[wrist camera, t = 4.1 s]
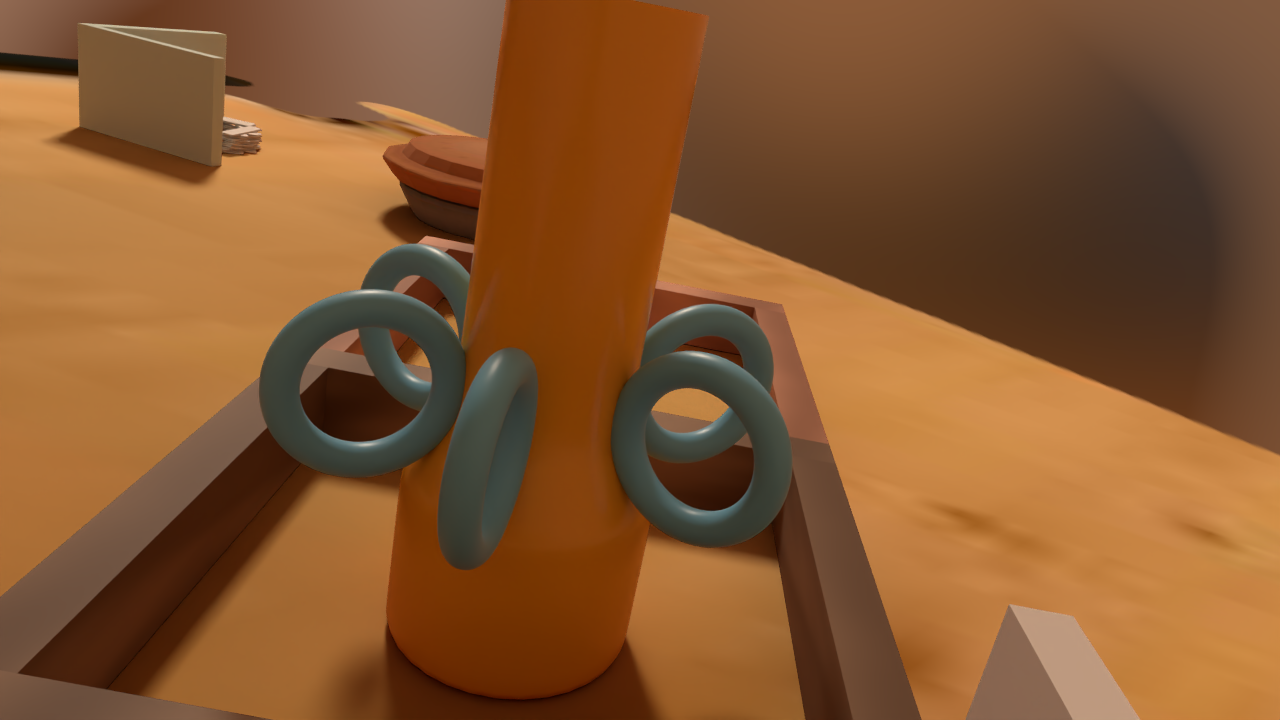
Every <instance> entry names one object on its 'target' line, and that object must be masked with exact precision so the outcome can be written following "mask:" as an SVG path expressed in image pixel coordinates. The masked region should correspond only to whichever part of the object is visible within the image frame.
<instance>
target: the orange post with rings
mask: <svg viewBox="0 0 1280 720" xmlns="http://www.w3.org/2000/svg"><path fill="white" fill-rule="evenodd" d="M708 20H709V16H706V15H702V14H697V13H693V12H688V11H683V10H678V9H673V8H668V7H663V6H658V5H653V4H648V3H643V2H638V1H633V0H506V3H505V11H504V19H503V27H502V34H501V42H500V50H499V59H498V66H497V73H496V81H495V89H494V97H493V104H492V112H491V120H490V128H489V136H488V143H487V151H486V158H485V166H484V174H483V181H482V189H481V197H480V204H479V212H478V220H477V227H476V235H475V242H474V250H473V258H472V265H471V273H470V275H469V273H468V272H467V271H466V270H465V269H464V267H463V266H462V265H461V264H460V263H459V262H457V261H456V260H455V259H454V258H453V257H451V256H450V255H448V254H447V253H445V252H443V251H441V250H439V249H437V248H435V247H432V246H428V245H424V244H405V245H401V246H398V247H395V248H393V249H391V250H389V251H387V252H386V253H384V254H383V255H382V256H380V257H379V258H378V259H377V260H376V261H375V262H374V264H373V265H372V266H371V268H370V269H369V271H368V273H367V274H366V276H365V278H364V281H363V283H362V286H361V290H354V291H348V292H344V293H340V294H336V295H333V296H330V297H328V298H325V299H323V300H321V301H319V302H317V303H315V304H313V305H311V306H309V307H308V308H306V309H305V310H303V311H302V312H300V313H299V314H298V315H297V316H295V317H294V318H293V319H292V320H291V321H290V322H289V323H288V324H287V325H286V326H285V327H284V328H283V329H282V330H281V332H280V333H279V334H278V335H277V337H276V338H275V340H274V341H273V343H272V345H271V346H270V348H269V350H268V352H267V354H266V357H265V359H264V362H263V365H262V369H261V373H260V380H259V400H260V407H261V411H262V415H263V418H264V420H265V423H266V425H267V427H268V429H269V431H270V433H271V434H272V436H273V437H274V439H275V440H276V441H277V443H278V444H279V445H280V446H281V447H282V448H283V449H284V450H285V451H286V452H287V453H288V454H289V455H290V456H292V457H293V458H294V459H296V460H297V461H299V462H300V463H302V464H304V465H306V466H307V467H309V468H312V469H314V470H316V471H319V472H322V473H325V474H329V475H334V476H339V477H349V478H363V477H373V476H379V475H383V474H387V473H391V472H394V471H397V470H399V469H402V468H403V470H402V475H401V480H400V487H399V496H398V504H397V513H396V522H395V531H394V540H393V549H392V558H391V567H390V576H389V585H388V595H387V607H386V615H387V621H388V625H389V629H390V632H391V635H392V637H393V638H394V640H395V642H396V644H397V646H398V648H399V649H400V650H401V652H402V653H403V654H404V655H405V656H406V657H407V659H408V660H409V661H410V662H411V663H412V664H414V665H415V666H416V667H418V668H419V669H420V670H422V671H423V672H424V673H425V674H427V675H428V676H430V677H432V678H434V679H437V680H438V681H440V682H442V683H444V684H446V685H448V686H451V687H453V688H457V689H460V690H463V691H465V692H468V693H471V694H476V695H483V696H487V697H492V698H500V699H519V700H523V699H533V698H546V697H551V696H554V695H558V694H563V693H567V692H570V691H572V690H575V689H577V688H579V687H582V686H584V685H586V684H588V683H590V682H591V681H593V680H594V679H595V678H597V677H598V676H600V675H601V674H603V673H604V672H605V670H606V669H607V668H608V667H609V666H610V665H611V664H612V663H613V661H614V660H615V659H616V657H617V656H618V654H619V652H620V651H621V648H622V646H623V644H624V641H625V637H626V633H627V628H628V624H629V620H630V615H631V610H632V606H633V601H634V597H635V592H636V587H637V583H638V578H639V574H640V569H641V564H642V560H643V555H644V551H645V546H646V541H647V537H648V532H649V527H650V523H651V524H653V525H654V526H655V527H656V528H658V529H659V530H661V531H662V532H664V533H665V534H667V535H669V536H670V537H672V538H674V539H677V540H679V541H681V542H684V543H687V544H690V545H694V546H699V547H707V548H720V547H728V546H733V545H736V544H739V543H742V542H745V541H747V540H749V539H751V538H753V537H754V536H756V535H757V534H759V533H760V532H761V531H763V530H764V529H765V528H766V527H767V526H768V525H769V524H770V523H771V522H772V521H773V520H774V518H775V517H776V516H777V514H778V513H779V511H780V509H781V508H782V506H783V504H784V502H785V499H786V497H787V494H788V491H789V488H790V483H791V478H792V468H793V457H792V447H791V441H790V437H789V433H788V430H787V427H786V424H785V421H784V419H783V417H782V414H781V412H780V410H779V408H778V407H777V405H776V403H775V402H774V400H773V399H772V397H771V396H770V392H771V388H772V383H773V376H774V361H773V354H772V350H771V347H770V344H769V341H768V339H767V337H766V335H765V333H764V332H763V330H762V329H761V328H760V326H759V325H758V324H757V323H756V322H755V321H754V320H753V319H752V318H751V317H749V316H748V315H746V314H745V313H743V312H741V311H739V310H737V309H735V308H732V307H729V306H725V305H719V304H701V305H695V306H690V307H687V308H684V309H681V310H678V311H676V312H674V313H672V314H670V315H668V316H666V317H665V318H663V319H662V320H660V321H659V322H657V323H656V324H655V325H654V326H652V327H651V328H650V329H649V330H648V331H647V328H648V323H649V317H650V312H651V307H652V302H653V297H654V292H655V287H656V282H657V277H658V271H659V266H660V261H661V256H662V251H663V246H664V241H665V236H666V231H667V226H668V221H669V216H670V210H671V205H672V201H673V195H674V190H675V185H676V180H677V175H678V170H679V165H680V160H681V155H682V150H683V144H684V140H685V135H686V130H687V125H688V120H689V114H690V110H691V105H692V99H693V95H694V90H695V85H696V80H697V75H698V70H699V65H700V60H701V55H702V50H703V45H704V40H705V34H706V29H707V24H708ZM412 275H417V276H421V277H424V278H426V279H428V280H430V281H431V282H432V283H434V284H435V285H436V286H437V287H438V288H439V289H440V290H441V291H442V293H443V294H444V295H445V297H446V298H447V300H448V302H449V304H450V306H451V308H452V310H453V313H454V315H455V318H456V322H457V327H458V333H459V338H458V337H457V335H456V333H455V332H454V330H453V329H452V327H451V326H450V325H449V324H448V322H447V321H446V320H445V319H444V318H443V317H442V316H441V315H440V314H439V313H437V312H436V311H435V310H434V309H432V308H431V307H429V306H428V305H426V304H425V303H423V302H421V301H419V300H417V299H415V298H413V297H410V296H407V295H405V294H401V293H397V292H393V291H394V289H395V287H396V286H397V284H398V283H399V282H400V281H401V280H402V279H404V278H405V277H408V276H412ZM354 329H358V332H359V338H360V342H361V346H362V349H363V352H364V355H365V358H366V360H367V362H368V364H369V366H370V368H371V370H372V372H373V374H374V375H375V377H376V378H377V380H378V381H379V382H380V384H381V385H382V386H383V387H384V389H385V390H386V391H387V392H388V393H389V394H390V395H391V396H393V397H394V398H395V399H396V400H398V401H399V402H401V403H402V404H404V405H406V406H407V407H410V408H412V409H414V410H417V411H420V413H419V414H418V415H417V416H416V417H415V418H414V419H413V420H412V421H411V422H410V423H409V424H408V425H407V426H405V427H404V428H402V429H401V430H399V431H398V432H396V433H394V434H392V435H389V436H387V437H384V438H381V439H378V440H373V441H366V442H351V441H344V440H340V439H337V438H334V437H331V436H329V435H327V434H325V433H324V432H322V431H321V430H319V429H318V428H317V427H316V426H315V425H314V424H313V423H312V422H311V421H310V420H309V418H308V417H307V415H306V414H305V412H304V410H303V407H302V404H301V400H300V382H301V377H302V374H303V371H304V369H305V367H306V365H307V363H308V362H309V360H310V359H311V357H312V356H313V355H314V353H315V352H316V351H317V350H318V349H319V348H320V347H321V346H323V345H324V344H325V343H326V342H328V341H329V340H331V339H332V338H334V337H336V336H338V335H340V334H342V333H345V332H348V331H351V330H354ZM389 329H391V330H394V331H397V332H400V333H402V334H404V335H406V336H408V337H409V338H411V339H412V340H413V341H415V342H416V343H417V344H418V345H419V346H420V347H421V349H422V350H423V351H424V353H425V354H426V356H427V358H428V361H429V363H430V367H431V373H432V382H427V381H424V380H422V379H420V378H418V377H416V376H415V375H414V374H413V373H411V372H410V371H409V370H408V369H407V367H406V366H405V365H404V364H403V362H402V361H401V359H400V358H399V356H398V354H397V352H396V350H395V348H394V345H393V342H392V339H391V335H390V331H389ZM704 336H718V337H722V338H725V339H727V340H729V341H730V342H732V343H733V344H734V345H735V346H736V348H737V349H738V350H739V352H740V355H741V357H742V361H743V368H741V367H740V366H738V365H737V364H735V363H733V362H731V361H729V360H727V359H725V358H722V357H720V356H717V355H714V354H710V353H705V352H699V351H680V352H673V351H674V350H676V349H677V348H678V347H680V346H681V345H683V344H684V343H686V342H688V341H690V340H693V339H696V338H699V337H704ZM672 352H673V353H672ZM681 388H694V389H699V390H703V391H706V392H708V393H711V394H713V395H714V396H716V397H718V398H719V399H721V400H722V401H723V402H725V403H726V404H727V405H728V406H729V408H728V409H727V411H726V412H725V413H724V414H723V415H722V416H721V417H720V418H718V419H717V420H716V421H714V422H713V423H712V424H710V425H708V426H706V427H704V428H702V429H700V430H697V431H693V432H688V433H676V432H671V431H668V430H666V429H664V428H663V427H661V426H660V425H659V424H658V423H657V422H656V421H655V419H654V417H653V415H652V413H651V410H652V408H653V406H654V405H655V403H656V402H657V401H658V400H659V399H660V398H661V397H662V396H664V395H665V394H667V393H669V392H671V391H673V390H676V389H681ZM746 433H748V435H749V438H750V441H751V444H752V449H753V455H754V471H753V476H752V480H751V483H750V486H749V488H748V490H747V491H746V493H745V495H744V496H743V497H742V498H741V499H740V500H739V501H738V502H737V503H736V504H734V505H732V506H731V507H729V508H726V509H723V510H718V511H705V510H700V509H696V508H693V507H691V506H688V505H686V504H684V503H683V502H681V501H680V500H678V499H677V498H675V497H674V496H673V495H672V494H671V493H670V492H669V491H668V490H667V489H666V488H665V487H664V486H663V485H662V483H661V482H660V481H659V479H658V478H657V476H656V474H655V472H654V471H653V469H652V466H651V464H650V461H649V458H648V455H649V456H651V457H653V458H655V459H658V460H661V461H664V462H669V463H693V462H698V461H702V460H705V459H708V458H711V457H713V456H716V455H718V454H720V453H722V452H723V451H725V450H727V449H728V448H730V447H731V446H733V445H734V444H735V443H736V442H738V441H739V440H740V439H741V438H742V437H743V436H744V435H745V434H746Z"/></svg>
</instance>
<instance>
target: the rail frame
mask: <svg viewBox="0 0 1280 720" xmlns="http://www.w3.org/2000/svg"><path fill="white" fill-rule="evenodd" d="M417 244H424V245H428V246H432V247H435V248H437V249H439V250H441V251H443V252H445V253H447V254H448V255H450V256H451V257H453V258H454V259H455V260H456V261H457V262H459V263H460V264H461V265H462V266H463V267H464V269H465V270H466V271H467V272H468V273H469V275H470V273H471V265H472V258H473V250H474V245H472V244H466V243H461V242H456V241H451V240H446V239H441V238H435V237H430V236H425V237H424V238H423V239H422V240H421V241H419V242H418V243H417ZM393 292H397V293H401V294H405V295H407V296H410V297H413V298H415V299H417V300H419V301H421V302H423V303H425V304H426V305H428V306H429V307H431V308H432V309H434V308H435V306H436V305H437V304H438V303H439V302H440V301H441V299H442V298H446V297H445V295H444V294H443V293H442V291H441V290H440V289H439V288H438V287H437V286H436V285H435V284H434V283H432V282H431V281H430V280H428V279H426V278H424V277H421V276H417V275H412V276H408V277H405V278H404V279H402V280H401V281H400V282H399V283H398V284H397V286H396V287H395V289H394V291H393ZM701 304H719V305H725V306H729V307H732V308H735V309H737V310H739V311H741V312H743V313H745V314H746V315H748V316H749V317H751V318H752V319H753V320H754V321H755V322H756V323H757V324H758V325H759V326H760V328H761V329H762V330H763V332H764V333H765V335H766V337H767V339H768V341H769V344H770V347H771V350H772V354H773V361H774V376H773V383H772V388H771V392H770V396H771V397H772V399H773V400H774V402H775V403H776V405H777V407H778V408H779V410H780V412H781V414H782V417H783V419H784V421H785V424H786V427H787V430H788V433H789V437H790V441H791V447H792V457H793V468H792V478H791V483H790V488H789V491H788V494H787V497H786V499H785V502H784V504H783V506H782V508H781V509H780V511H779V513H778V514H777V516H776V517H775V518H774V520H773V521H772V526H773V532H774V537H775V543H776V549H777V555H778V561H779V567H780V573H781V578H782V584H783V590H784V596H785V602H786V608H787V613H788V619H789V625H790V631H791V637H792V643H793V649H794V654H795V660H796V666H797V672H798V678H799V684H800V689H801V695H802V701H803V707H804V713H805V719H806V720H921V717H920V714H919V711H918V708H917V705H916V702H915V699H914V696H913V693H912V690H911V687H910V684H909V681H908V678H907V675H906V672H905V669H904V666H903V663H902V660H901V657H900V654H899V651H898V648H897V645H896V642H895V639H894V636H893V633H892V630H891V627H890V625H889V622H888V619H887V616H886V613H885V610H884V607H883V604H882V601H881V598H880V595H879V592H878V589H877V586H876V583H875V580H874V577H873V574H872V571H871V568H870V565H869V562H868V559H867V556H866V553H865V550H864V547H863V544H862V541H861V538H860V535H859V532H858V529H857V526H856V523H855V520H854V517H853V514H852V511H851V508H850V505H849V502H848V499H847V496H846V493H845V490H844V487H843V484H842V481H841V479H840V476H839V473H838V470H837V467H836V464H835V461H834V458H833V455H832V452H831V449H830V446H829V443H828V440H827V437H826V434H825V431H824V428H823V425H822V422H821V419H820V416H819V413H818V410H817V407H816V404H815V401H814V398H813V395H812V392H811V389H810V386H809V383H808V380H807V377H806V374H805V371H804V368H803V365H802V362H801V359H800V356H799V353H798V350H797V347H796V344H795V341H794V338H793V336H792V333H791V330H790V327H789V324H788V321H787V318H786V315H785V312H784V309H783V306H782V304H777V303H772V302H766V301H761V300H756V299H751V298H746V297H741V296H735V295H730V294H725V293H720V292H715V291H710V290H704V289H699V288H694V287H689V286H684V285H679V284H673V283H668V282H663V281H658V280H657V282H656V287H655V292H654V297H653V302H652V307H651V312H650V317H649V323H648V328H647V331H648V330H649V329H650V328H651V327H652V326H654V325H655V324H656V323H657V322H659V321H660V320H662V319H663V318H665V317H666V316H668V315H670V314H672V313H674V312H676V311H678V310H681V309H684V308H687V307H690V306H695V305H701ZM389 331H390V335H391V339H392V342H393V345H394V348H395V350H396V352H397V351H398V349H399V348H400V347H401V346H402V345H403V344H404V342H405V341H406V340H407V339H408V338H409V337H408V336H406V335H404V334H402V333H400V332H397V331H394V330H391V329H389ZM684 344H688V345H693V346H698V347H703V348H708V349H714V350H719V351H724V352H729V353H735V354H740V352H739V350H738V349H737V348H736V346H735V345H734V344H733V343H732V342H730V341H729V340H727V339H725V338H722V337H718V336H704V337H699V338H696V339H693V340H690V341H688V342H686V343H684ZM403 364H404V365H405V366H406V367H407V369H408V370H409V371H410V372H411V373H413V374H414V375H415V376H416V377H418V378H420V379H422V380H424V381H427V382H432V373H431V368H426V367H421V366H416V365H411V364H405V363H403ZM259 380H260V377H259V378H258V379H257V380H255V381H254V382H253V383H252V384H251V385H250V386H248V387H247V388H246V389H245V390H244V391H242V392H241V393H240V394H239V395H238V396H237V397H235V398H234V399H233V400H232V401H231V402H229V403H228V404H227V405H226V406H225V407H224V408H222V409H221V410H220V411H219V412H218V413H216V414H215V415H214V416H213V417H212V418H211V419H209V420H208V421H207V422H206V423H205V424H204V425H202V426H201V427H200V428H199V429H198V430H196V431H195V432H194V433H193V434H192V435H191V436H189V437H188V438H187V439H186V440H185V441H183V442H182V443H181V444H180V445H179V446H178V447H176V448H175V449H174V450H173V451H172V452H170V453H169V454H168V455H167V456H166V457H165V458H163V459H162V460H161V461H160V462H159V463H158V464H156V465H155V466H154V467H153V468H152V469H150V470H149V471H148V472H147V473H146V474H145V475H143V476H142V477H141V478H140V479H139V480H137V481H136V482H135V483H134V484H133V485H132V486H130V487H129V488H128V489H127V490H126V491H124V492H123V493H122V494H121V495H120V496H119V497H117V498H116V499H115V500H114V501H113V502H112V503H110V504H109V505H108V506H107V507H106V508H104V509H103V510H102V511H101V512H100V513H99V514H97V515H96V516H95V517H94V518H93V519H91V520H90V521H89V522H88V523H87V524H86V525H84V526H83V527H82V528H81V529H80V530H79V531H77V532H76V533H75V534H74V535H73V536H71V537H70V538H69V539H68V540H67V541H66V542H64V543H63V544H62V545H61V546H60V547H58V548H57V549H56V550H55V551H54V552H53V553H51V554H50V555H49V556H48V557H47V558H45V559H44V560H43V561H42V562H41V563H40V564H38V565H37V566H36V567H35V568H34V569H33V570H31V571H30V572H29V573H28V574H27V575H25V576H24V577H23V578H22V579H21V580H20V581H18V582H17V583H16V584H15V585H14V586H12V587H11V588H10V589H9V590H8V591H7V592H5V593H4V594H3V595H2V596H1V597H0V720H271V719H265V718H260V717H254V716H249V715H243V714H238V713H232V712H227V711H221V710H216V709H210V708H205V707H199V706H194V705H188V704H183V703H177V702H172V701H166V700H161V699H155V698H150V697H144V696H139V695H133V694H128V693H122V692H117V691H111V690H106V689H107V688H108V687H109V685H110V684H111V683H112V682H113V681H114V680H115V678H116V677H117V676H118V675H119V674H120V673H121V671H122V670H123V669H124V668H125V667H126V666H127V664H128V663H129V662H130V661H131V660H132V659H133V657H134V656H135V655H136V654H137V653H138V652H139V650H140V649H141V648H142V647H143V646H144V645H145V644H146V642H147V641H148V640H149V639H150V638H151V637H152V635H153V634H154V633H155V632H156V631H157V630H158V628H159V627H160V626H161V625H162V624H163V623H164V621H165V620H166V619H167V618H168V617H169V616H170V614H171V613H172V612H173V611H174V610H175V609H176V607H177V606H178V605H179V604H180V603H181V602H182V601H183V599H184V598H185V597H186V596H187V595H188V594H189V592H190V591H191V590H192V589H193V588H194V587H195V585H196V584H197V583H198V582H199V581H200V580H201V578H202V577H203V576H204V575H205V574H206V573H207V571H208V570H209V569H210V568H211V567H212V566H213V564H214V563H215V562H216V561H217V560H218V559H219V557H220V556H221V555H222V554H223V553H224V552H225V551H226V549H227V548H228V547H229V546H230V545H231V544H232V542H233V541H234V540H235V539H236V538H237V537H238V535H239V534H240V533H241V532H242V531H243V530H244V528H245V527H246V526H247V525H248V524H249V523H250V521H251V520H252V519H253V518H254V517H255V516H256V514H257V513H258V512H259V511H260V510H261V509H262V507H263V506H264V505H265V504H266V503H267V502H268V501H269V499H270V498H271V497H272V496H273V495H274V494H275V492H276V491H277V490H278V489H279V488H280V487H281V485H282V484H283V483H284V482H285V481H286V480H287V478H288V477H289V476H290V475H291V474H292V473H293V471H294V470H295V469H296V468H297V467H298V466H299V464H300V462H299V461H297V460H296V459H294V458H293V457H292V456H290V455H289V454H288V453H287V452H286V451H285V450H284V449H283V448H282V447H281V446H280V445H279V444H278V443H277V441H276V440H275V439H274V437H273V436H272V434H271V433H270V431H269V429H268V427H267V425H266V423H265V420H264V418H263V415H262V411H261V407H260V400H259ZM300 400H301V404H302V407H303V410H304V412H305V414H306V415H307V417H308V418H309V420H310V421H311V422H312V423H313V424H314V425H315V426H316V427H317V428H318V429H319V430H321V431H322V432H324V433H325V434H327V435H329V436H331V437H334V438H337V439H340V440H344V441H351V442H366V441H373V440H378V439H381V438H384V437H387V436H389V435H392V434H394V433H396V432H398V431H399V430H401V429H402V428H404V427H405V426H407V425H408V424H409V423H410V422H411V421H412V420H413V419H414V418H415V417H416V416H417V415H418V414H419V413H420V411H417V410H414V409H412V408H410V407H407V406H406V405H404V404H402V403H401V402H399V401H398V400H396V399H395V398H394V397H393V396H391V395H390V394H389V393H388V392H387V391H386V390H385V389H384V387H383V386H382V385H381V384H380V382H379V381H378V380H377V378H376V377H375V375H374V374H373V372H372V370H371V368H370V366H369V364H368V362H367V360H366V358H365V355H364V352H363V349H362V346H361V342H360V338H359V332H358V329H354V330H351V331H348V332H345V333H342V334H340V335H338V336H336V337H334V338H332V339H331V340H329V341H328V342H326V343H325V344H324V345H323V346H321V347H320V348H319V349H318V350H317V351H316V352H315V353H314V355H313V356H312V357H311V359H310V360H309V362H308V363H307V365H306V367H305V369H304V371H303V374H302V377H301V382H300ZM651 413H652V415H653V417H654V419H655V421H656V422H657V423H658V424H659V425H660V426H661V427H663V428H664V429H666V430H668V431H671V432H676V433H688V432H693V431H697V430H700V429H702V428H704V427H706V426H708V425H710V424H712V423H713V422H710V421H705V420H700V419H694V418H689V417H684V416H679V415H673V414H668V413H663V412H658V411H652V410H651ZM648 458H649V461H650V464H651V466H652V469H653V471H654V472H655V474H656V476H657V478H658V479H659V481H660V482H661V483H662V485H663V486H664V487H665V488H666V489H667V490H668V491H669V492H670V493H671V494H672V495H673V496H674V497H675V498H677V499H678V500H680V501H681V502H683V503H684V504H686V505H688V506H691V507H693V508H698V509H704V510H709V511H718V510H723V509H726V508H729V507H731V506H732V505H734V504H736V503H737V502H738V501H739V500H740V499H741V498H742V497H743V496H744V495H745V493H746V491H747V490H748V488H749V486H750V483H751V480H752V476H753V471H754V455H753V449H752V444H751V441H750V438H749V435H748V433H746V434H745V435H744V436H743V437H742V438H741V439H740V440H739V441H738V442H736V443H735V444H734V445H733V446H731V447H730V448H728V449H727V450H725V451H723V452H722V453H720V454H718V455H716V456H713V457H711V458H708V459H705V460H702V461H698V462H693V463H669V462H664V461H661V460H658V459H655V458H653V457H651V456H649V455H648Z"/></svg>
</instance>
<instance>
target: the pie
mask: <svg viewBox="0 0 1280 720" xmlns="http://www.w3.org/2000/svg"><path fill="white" fill-rule="evenodd" d="M487 143H488V139H485V138H476V137H466V136H451V135H429V136H420V137H416V138H413V139H412V140H411V141H410V142H409V143H408V144H402V145H394V146H389V147H388V148H387V150H386V151H385V153H384V155H383V159H384V160H385V162H386V163H387V165H388V166H389V168H390V169H391V171H392V172H393V174H394V175H395V176H396V177H397V178H398V179H399V181H400V186H401V188H402V191H403V193H404V195H405V197H406V199H407V201H408V203H409V205H410V207H411V209H412V211H413V213H414V214H415V215H416V216H417V218H418V219H419V220H421V221H423V222H424V223H426V224H428V225H430V226H432V227H434V228H437V229H440V230H442V231H445V232H448V233H451V234H454V235H458V236H462V237H466V238H470V239H473V240H475V235H476V227H477V220H478V212H479V204H480V197H481V189H482V181H483V174H484V166H485V158H486V151H487Z"/></svg>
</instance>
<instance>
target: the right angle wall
mask: <svg viewBox="0 0 1280 720" xmlns="http://www.w3.org/2000/svg"><path fill="white" fill-rule="evenodd" d="M226 36H227V35H226V34H222V33H217V32H205V31H191V30H176V29H161V28H146V27H131V26H116V25H101V24H86V23H78V65H79V122H80V127H82V128H86V129H89V130H92V131H96V132H99V133H102V134H105V135H109V136H112V137H115V138H119V139H122V140H125V141H129V142H132V143H135V144H138V145H142V146H145V147H148V148H152V149H155V150H158V151H162V152H165V153H168V154H172V155H175V156H178V157H181V158H185V159H188V160H191V161H195V162H198V163H201V164H205V165H208V166H221V160H222V153H233V154H244V152H248V153H255V154H256V153H257V152H256V149H260V147H261V146H259V145H257V144H260V143H259V142H262V141H261V138H260V137H262V136H260V135H262V134H260V133H257V132H258V131H262V130H261V129H260V128H257V127H254V126H256V125H255V124H254V123H250V122H245V121H241V120H236V119H232V118H227V117H224V95H225V64H226ZM230 124H234V125H236V126H234V125H230ZM222 140H223V142H222Z"/></svg>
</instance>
